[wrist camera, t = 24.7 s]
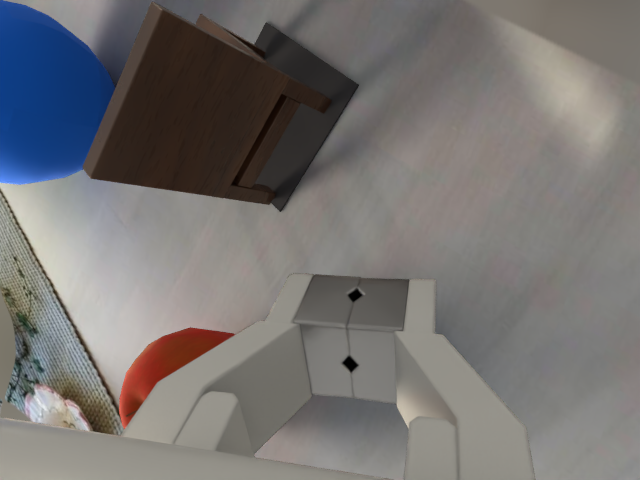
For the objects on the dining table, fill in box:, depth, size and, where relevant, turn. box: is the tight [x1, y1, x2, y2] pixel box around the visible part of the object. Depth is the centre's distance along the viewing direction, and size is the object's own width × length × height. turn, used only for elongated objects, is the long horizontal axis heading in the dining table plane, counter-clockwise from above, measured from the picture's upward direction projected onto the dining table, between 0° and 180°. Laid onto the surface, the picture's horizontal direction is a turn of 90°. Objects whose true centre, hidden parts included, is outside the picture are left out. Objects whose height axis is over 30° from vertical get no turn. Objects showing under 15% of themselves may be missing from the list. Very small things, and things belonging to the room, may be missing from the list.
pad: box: [255, 22, 359, 212], centre depth 39 cm, size 12×12×1 cm
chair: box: [83, 2, 332, 205], centre depth 32 cm, size 10×10×16 cm
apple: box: [119, 328, 235, 429], centre depth 35 cm, size 10×10×12 cm
